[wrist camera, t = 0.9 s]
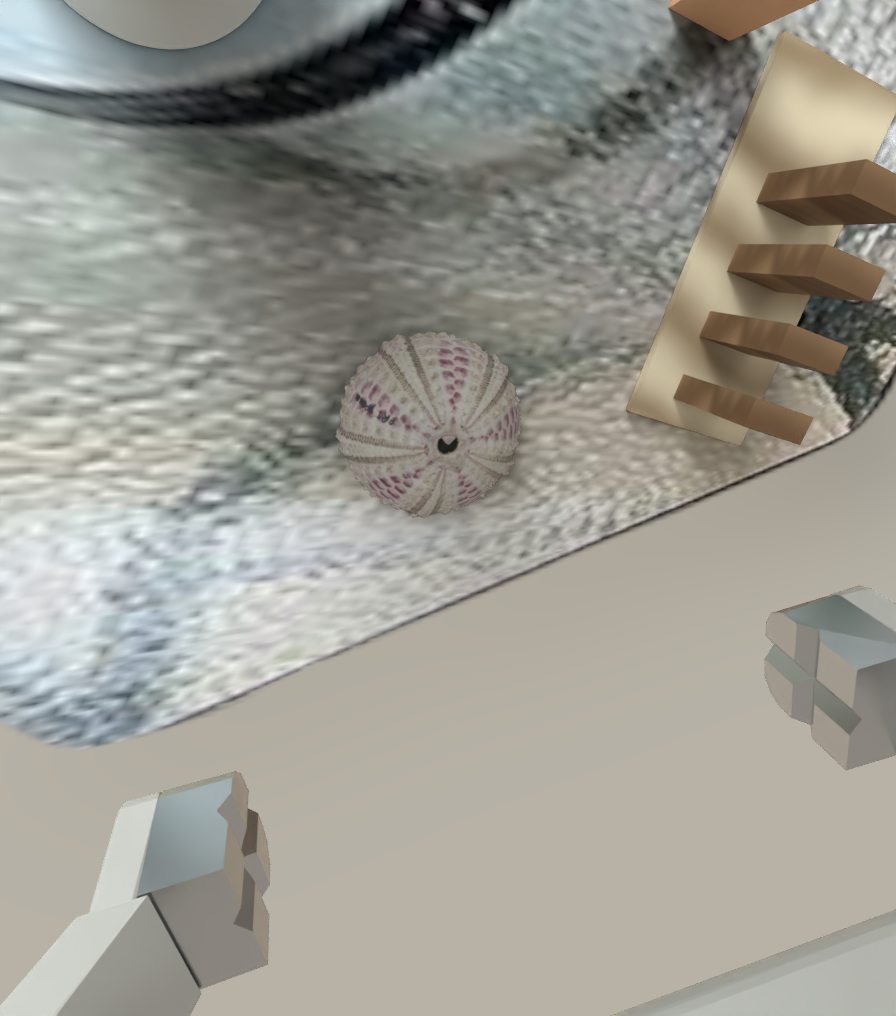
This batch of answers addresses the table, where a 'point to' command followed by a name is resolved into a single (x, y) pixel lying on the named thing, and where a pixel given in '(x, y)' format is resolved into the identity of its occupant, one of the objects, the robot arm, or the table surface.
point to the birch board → (758, 227)
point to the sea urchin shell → (429, 423)
